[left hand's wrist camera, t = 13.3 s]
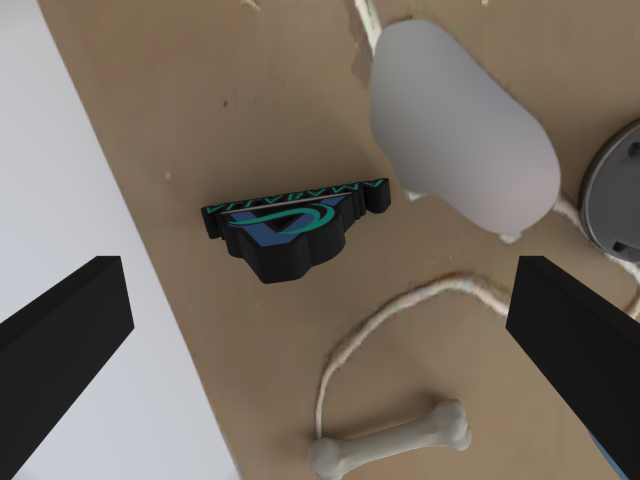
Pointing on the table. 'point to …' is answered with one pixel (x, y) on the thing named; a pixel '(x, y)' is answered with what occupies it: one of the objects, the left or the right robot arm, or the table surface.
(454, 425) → the dog toy
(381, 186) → the decorative sign
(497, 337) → the table surface
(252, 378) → the table surface
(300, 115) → the table surface
